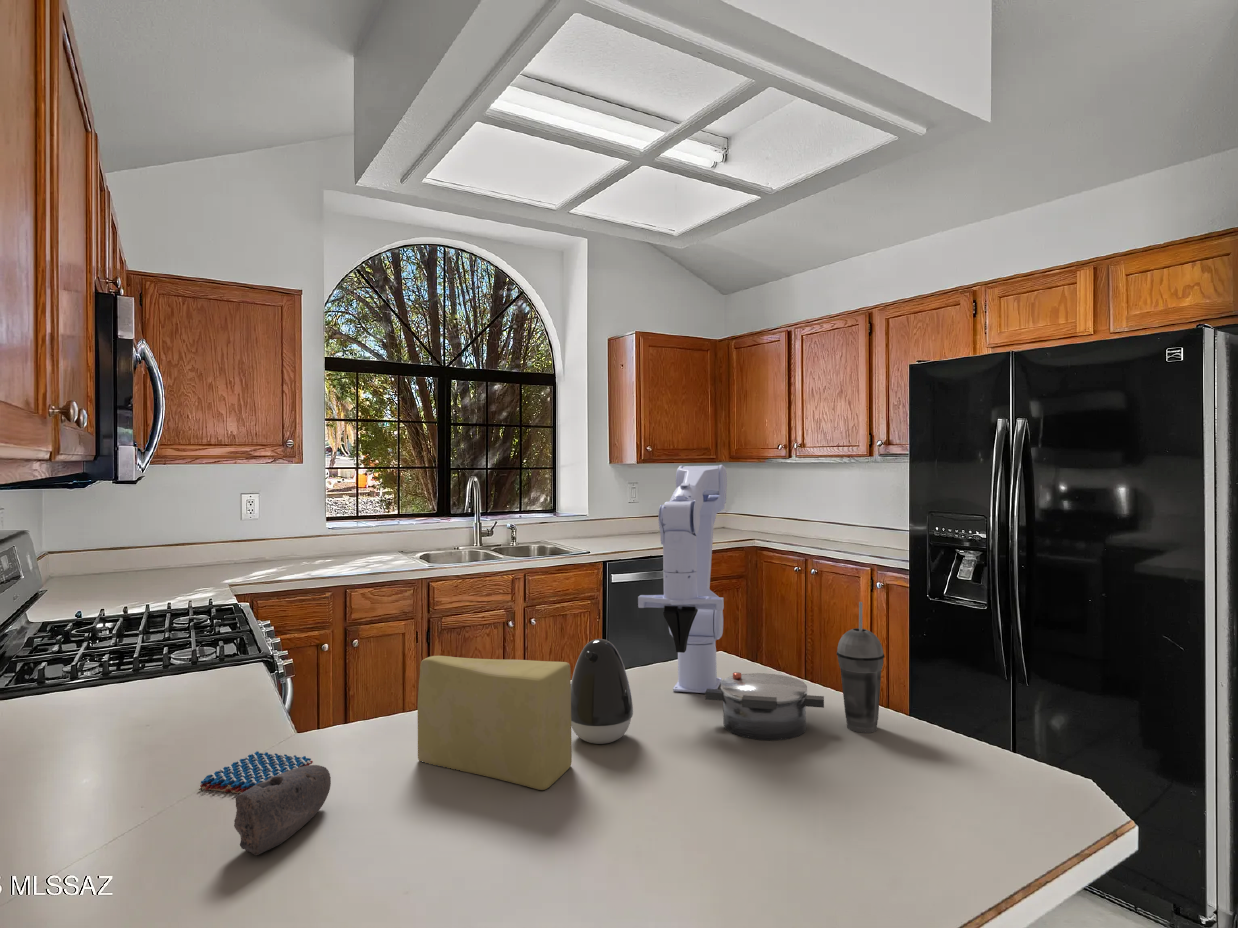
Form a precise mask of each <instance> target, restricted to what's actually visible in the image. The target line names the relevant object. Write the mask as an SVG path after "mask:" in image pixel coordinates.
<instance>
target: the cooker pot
mask: <svg viewBox="0 0 1238 928" xmlns="http://www.w3.org/2000/svg"><path fill="white" fill-rule="evenodd" d="M704 694H705V695H704V697H705V698H704V700H708V701H719V702H722V709H723V714H722V716H723V717H722V718H723V727H724V729H726V731H728V732H729V733H731V734H734V735H736V736H739V737H743V738H747V739H752V740H759V741H760V740H761V741H762V740H763V741H779V740H780V741H782V740H789V739H794V738H797V737H800V736H801V735H803V734H804V733H805V732H806V730H807V708H806V707H809V708H825V696H824V695H810V694H807V696H806V697H805V698H804V699H802V700H799V701H796V702H792V703H785V704H777V708H776V710H775V709H760V708H746V707H742V701H737V700H734V699H731V698H729V697H727V696H725V695H724V694H722V692H721V688H720V689H719V688H718V689H707V690H706V692H705V693H704Z"/></svg>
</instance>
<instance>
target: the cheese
mask: <svg viewBox="0 0 1238 928" xmlns="http://www.w3.org/2000/svg"><path fill="white" fill-rule="evenodd" d="M419 665H420V666H419V680H418V692H417V760H418V761H419V762H420V761H423V762H425V763H424V764H426V763H429V764H428V765H431V764H433V765H432V766H436V765H438V766H437V767H440V766H443V767H442V768H445V767H447V768H446V769H450V768H451V770H455V769H456V770H455V771H459V770H460V771H461V772H464V773H469V774H475V775H480V776H482V777H483V776H484V777H488V778H493V779H496V780H499V781H500V780H501V781H505V782H509V783H513V784H516V785H520V786H524V787H528V788H531V789H534V790H538V791H544V790H547V789H548V788H550V787H551V786H552V785H553V784H554V783H556V781H557V780H559V778H561V777H562V776H563V775H564V774H565V773H566V772H567V771H568V770H569V769H570V768H571V765H572V762H573V760H572V758H573V757H572V753H573V751H572V745H573V744H572V743H573V742H572V726H571V681H572V678H571V675H572V674H571V665H570V663H569V662H566V661H550V660H548V661H546V660H529V659H501V658H500V659H499V658H498V659H495V658H493V659H492V658H490V659H489V658H471V657H469V658H468V657H455V656H446V655H431V656H428V657H426V658H424V659H422V660H421V662H420V664H419Z"/></svg>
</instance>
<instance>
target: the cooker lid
mask: <svg viewBox="0 0 1238 928" xmlns="http://www.w3.org/2000/svg"><path fill="white" fill-rule="evenodd" d="M720 690H721V692H722V694H724V695H725V696H727V697H729V698H731V699H734V700H737V701H742V707H746V708H760V709H775V710H776V708H777V704H785V703H792V702H796V701H799V700H802V699H804V698H805V697H806V696H807V695H808V685H807V684H806V683H805V682H804V681H802V680H801V679H798V678H795V677H792V676H788V675H783V674H776V673H761V672H757V673H755V672H754V673H753V672H751V673H742V672H737V671H735V672H733V673H732V675H731V676H728V677H725V678H723V679H722V681H721V683H720Z"/></svg>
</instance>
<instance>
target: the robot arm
mask: <svg viewBox="0 0 1238 928" xmlns="http://www.w3.org/2000/svg"><path fill="white" fill-rule="evenodd" d="M727 487H728V476H727V468H726V467H725V466H724V465H723V464H719V465H686V466H685V465H679V466H678V468H677V469H676V473H675V490H674V491H673V493H672V495H671V496H670V499H669V501H665V502H664V504H660V505H659V508H658V509H659V510H658V515H657V516H658V527H659V528H658V529H659V533H660V534H659V535H660V544H661V545H662V547H663V548H662V553H663V554H662V558H663V559H662V561H663V562H662V564H663V569H662V570H663V576H662V577H663V594H640V595H639V596H637V604H638V605H637V606H638V607H637V608H639V609H644V608H652V609H653V608H658V609H663V613H662V614H663V617H664V620H665V621H666V624H667V625H668V631H669V635H671V637H672V639H673V642H674V646H675V653H677V677H678V678H677V682H676V683H675V685H674V686H673V688H672V690H673V692H683V693H697V694H698V693H700V694H705V692H706V690H707V689H719V687H720V686H721V681H722V680H723V679H722V677H718V676H717V665H718V664H717V648H716V646H717V644H716V641H717V640H720V639H721V638H722V637H723V633H724V611H723V610H724V609H725V605H724V601H725V600H724V596H723V597H719V595H717V594H716V593H715V592H714V591H712V590H711V589H710V588H711V587H710V586H711V574H712V573H711V572H712V558H713V557H712V556H713V542H714V540H713V539H714V528H715V527H714V526H715V521H716V517H717V514H718V513H720V512H721V511H723V510H725V505H726V503H727V490H728V489H727Z"/></svg>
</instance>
